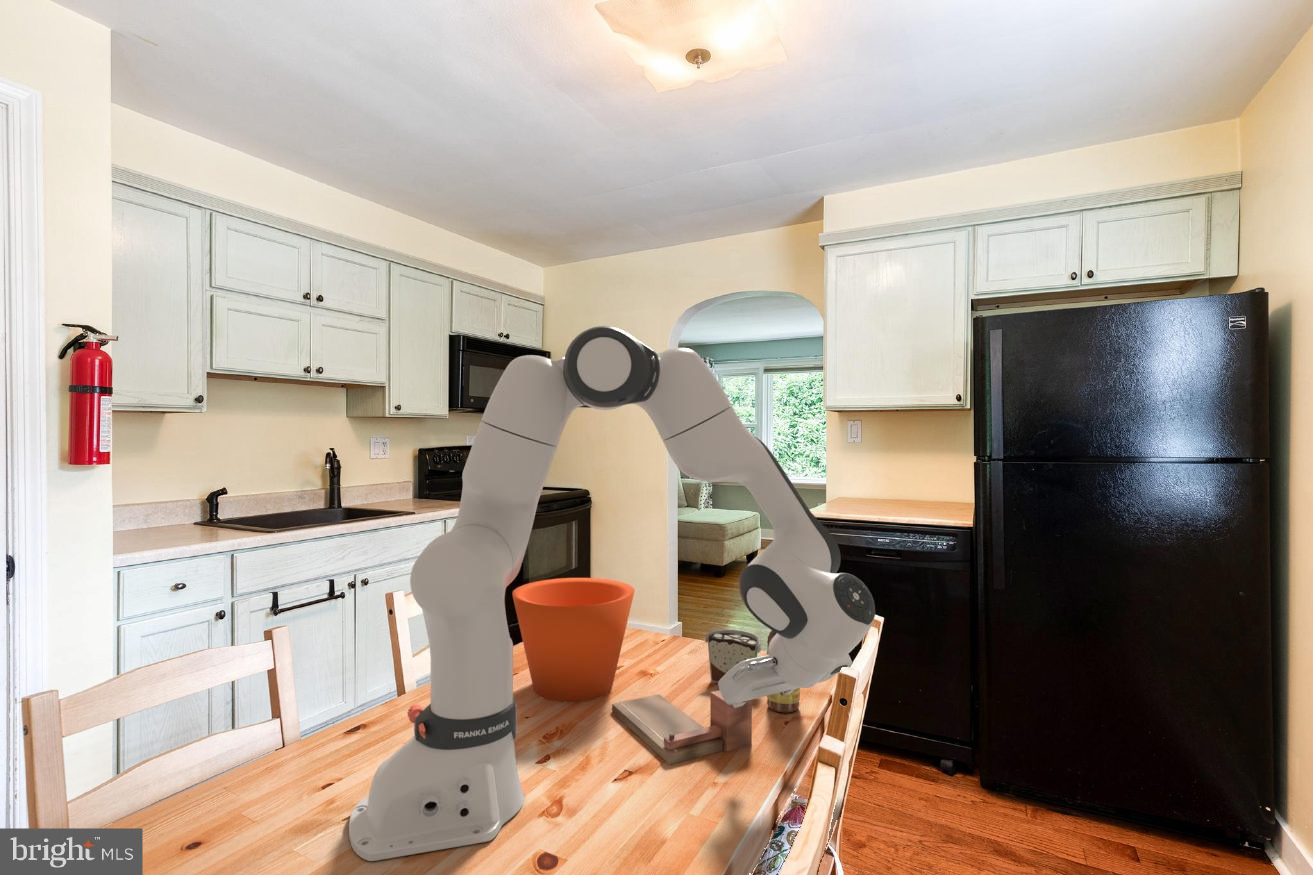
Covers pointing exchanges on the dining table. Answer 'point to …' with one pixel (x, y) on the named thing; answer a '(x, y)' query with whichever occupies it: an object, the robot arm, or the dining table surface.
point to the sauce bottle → (787, 701)
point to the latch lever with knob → (720, 726)
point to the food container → (730, 650)
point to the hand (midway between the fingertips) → (759, 696)
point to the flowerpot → (573, 634)
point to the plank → (663, 727)
